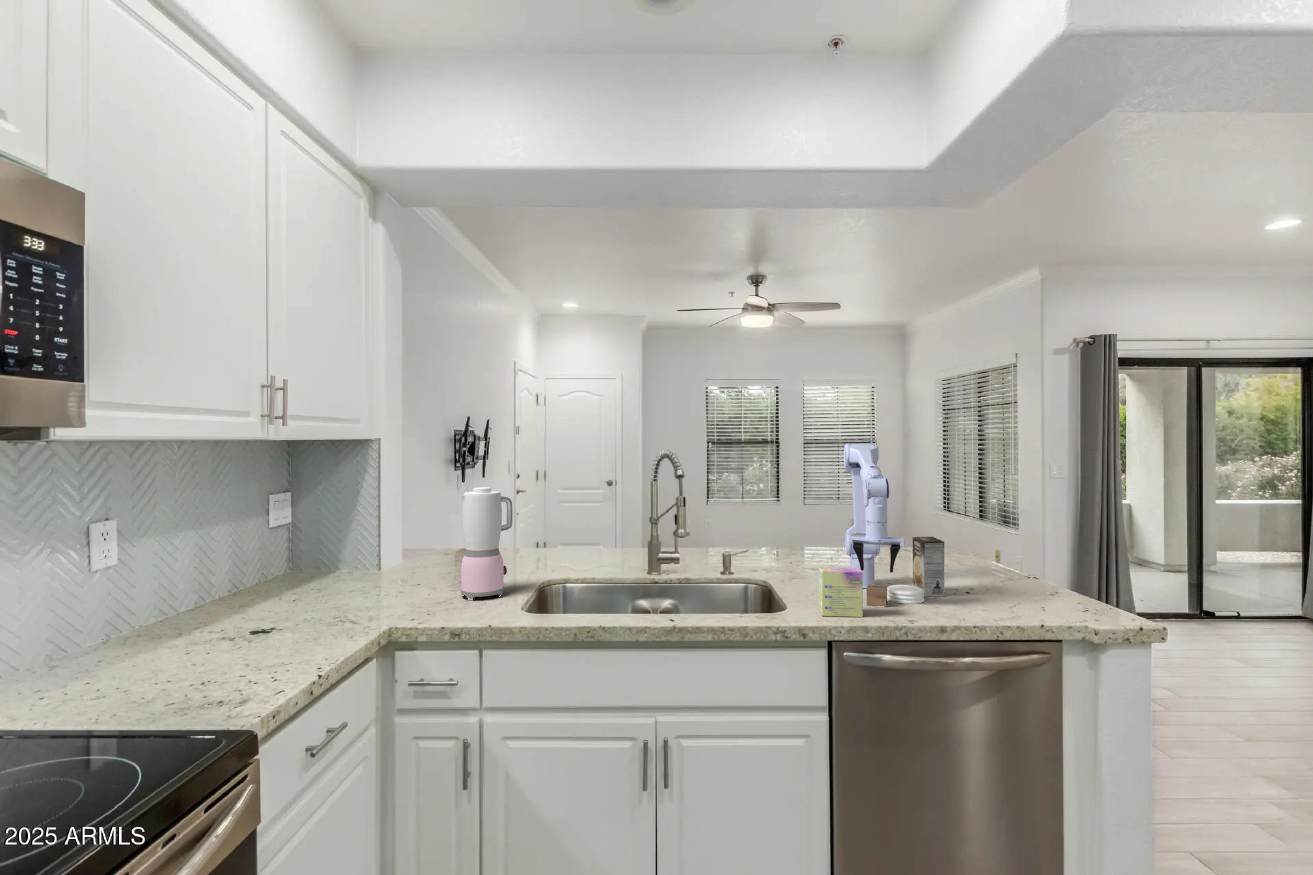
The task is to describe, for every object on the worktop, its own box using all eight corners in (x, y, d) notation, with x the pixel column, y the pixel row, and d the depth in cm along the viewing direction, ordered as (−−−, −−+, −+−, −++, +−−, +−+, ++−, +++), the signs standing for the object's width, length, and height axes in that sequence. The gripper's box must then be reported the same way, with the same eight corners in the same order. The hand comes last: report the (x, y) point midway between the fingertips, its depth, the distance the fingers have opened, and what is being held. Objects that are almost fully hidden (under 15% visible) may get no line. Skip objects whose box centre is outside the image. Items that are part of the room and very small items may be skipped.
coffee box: (911, 589, 199) (911, 536, 199) (933, 589, 199) (932, 536, 199) (923, 596, 190) (923, 541, 190) (945, 596, 190) (945, 541, 190)
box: (858, 611, 175) (858, 567, 175) (863, 617, 169) (862, 571, 169) (818, 610, 176) (818, 566, 176) (821, 616, 170) (821, 570, 170)
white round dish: (886, 603, 184) (885, 590, 184) (887, 595, 193) (887, 583, 193) (924, 606, 180) (924, 593, 180) (923, 597, 190) (923, 585, 190)
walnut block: (868, 601, 185) (868, 583, 185) (887, 603, 183) (887, 585, 183) (866, 605, 181) (866, 587, 181) (885, 607, 179) (885, 589, 179)
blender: (468, 603, 187) (467, 490, 187) (455, 594, 197) (454, 487, 197) (520, 595, 196) (520, 487, 196) (505, 587, 206) (504, 485, 206)
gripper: (847, 522, 181) (847, 571, 181) (903, 524, 176) (904, 575, 176) (850, 519, 188) (850, 567, 188) (904, 521, 182) (905, 570, 182)
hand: (876, 570), depth 182 cm, fingers open, 7 cm apart
